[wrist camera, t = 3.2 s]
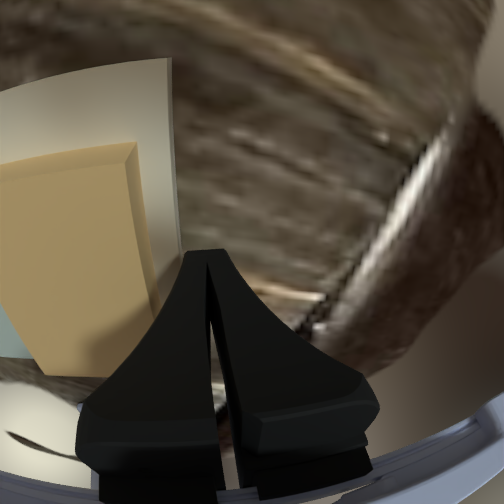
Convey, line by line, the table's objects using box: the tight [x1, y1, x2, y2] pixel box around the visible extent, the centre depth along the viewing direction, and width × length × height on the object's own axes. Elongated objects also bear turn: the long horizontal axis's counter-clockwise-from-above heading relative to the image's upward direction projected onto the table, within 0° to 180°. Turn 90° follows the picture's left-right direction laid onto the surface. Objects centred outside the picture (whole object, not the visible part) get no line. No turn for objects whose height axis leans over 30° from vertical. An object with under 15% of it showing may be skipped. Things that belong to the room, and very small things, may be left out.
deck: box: [0, 58, 183, 306], centre depth 12 cm, size 14×8×2 cm, turn 178°
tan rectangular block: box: [0, 141, 162, 377], centre depth 10 cm, size 9×6×2 cm, turn 178°
